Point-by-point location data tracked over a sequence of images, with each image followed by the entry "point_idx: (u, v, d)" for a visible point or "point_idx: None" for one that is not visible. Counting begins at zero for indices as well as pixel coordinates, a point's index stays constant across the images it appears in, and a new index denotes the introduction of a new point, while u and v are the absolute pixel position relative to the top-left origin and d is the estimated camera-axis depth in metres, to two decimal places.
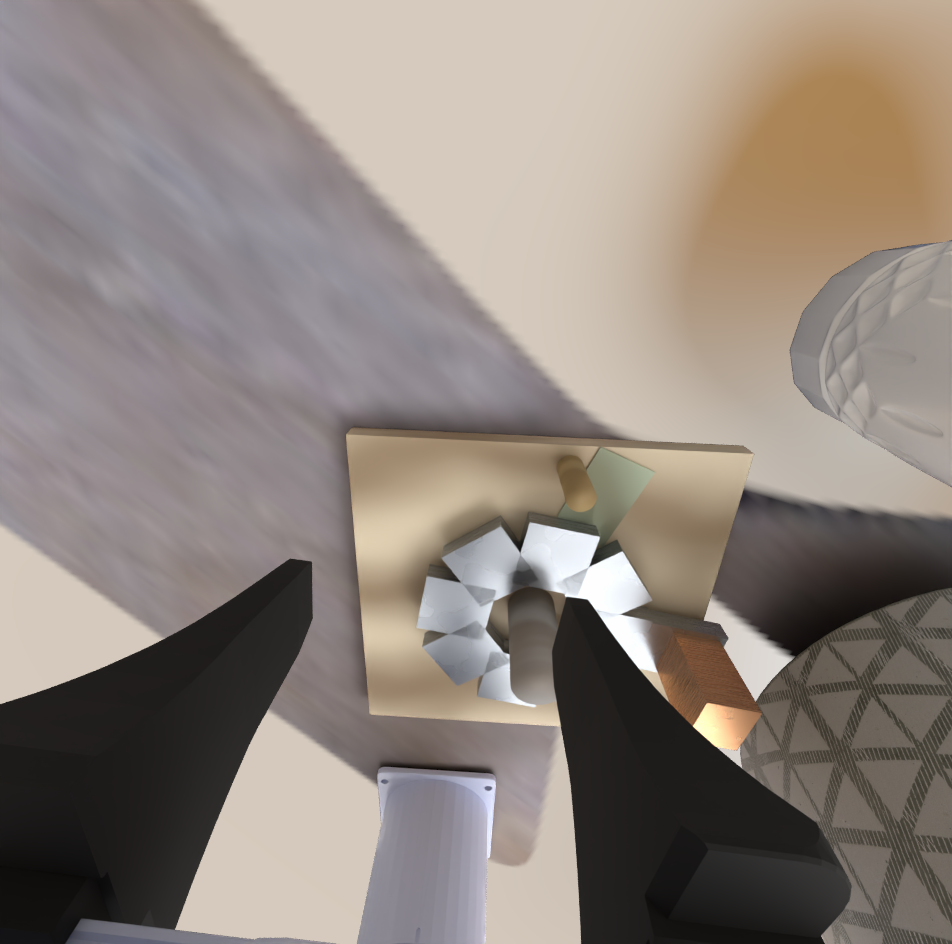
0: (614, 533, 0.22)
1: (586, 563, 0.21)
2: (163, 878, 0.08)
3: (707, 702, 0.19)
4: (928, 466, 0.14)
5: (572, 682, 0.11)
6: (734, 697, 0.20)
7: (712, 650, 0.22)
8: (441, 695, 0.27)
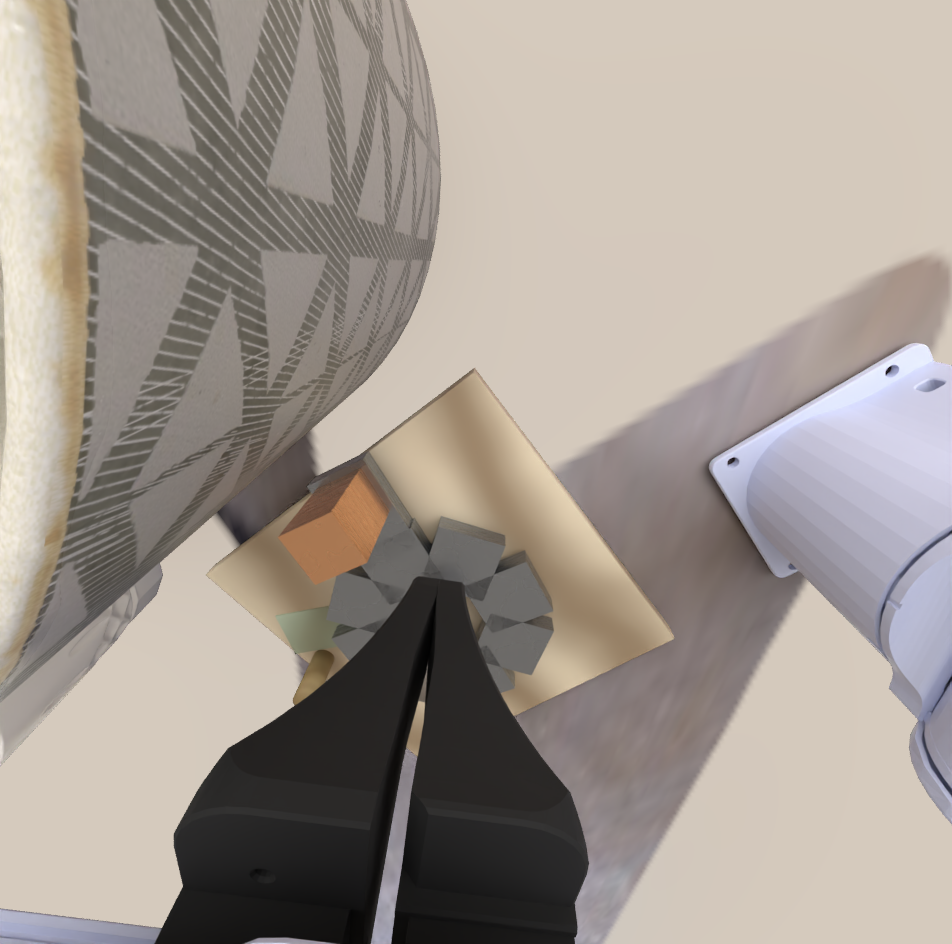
0: None
1: (356, 631, 0.24)
2: (373, 904, 0.08)
3: None
4: (60, 665, 0.19)
5: (430, 662, 0.11)
6: None
7: None
8: (600, 603, 0.24)
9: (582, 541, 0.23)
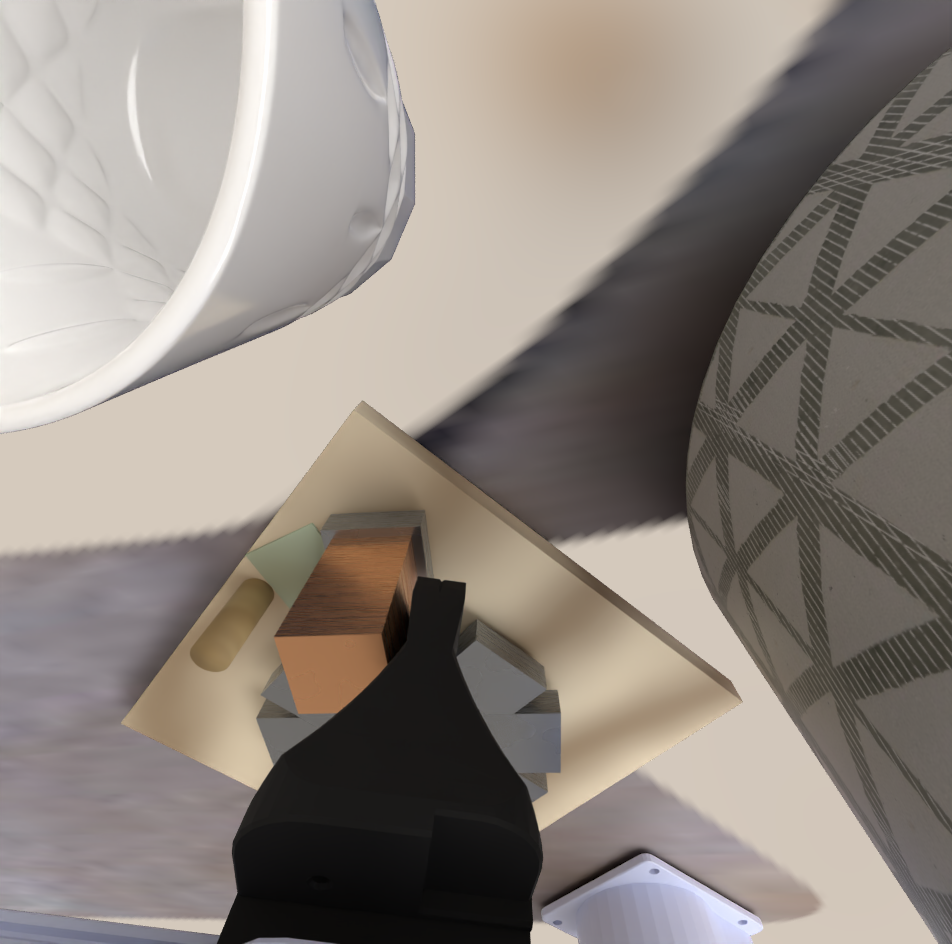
0: None
1: (296, 720, 0.17)
2: None
3: (298, 713, 0.11)
4: None
5: None
6: None
7: None
8: None
9: (551, 809, 0.21)
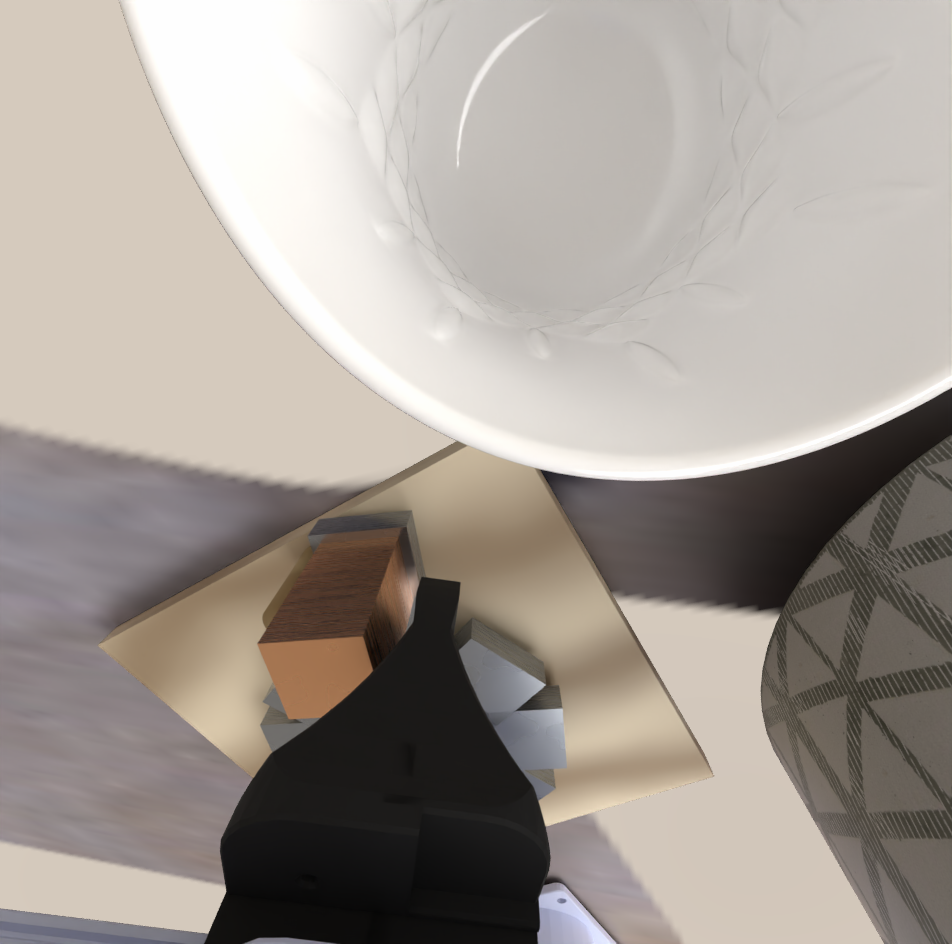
0: None
1: (300, 725, 0.17)
2: None
3: (288, 718, 0.11)
4: None
5: None
6: None
7: None
8: None
9: None
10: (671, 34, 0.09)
